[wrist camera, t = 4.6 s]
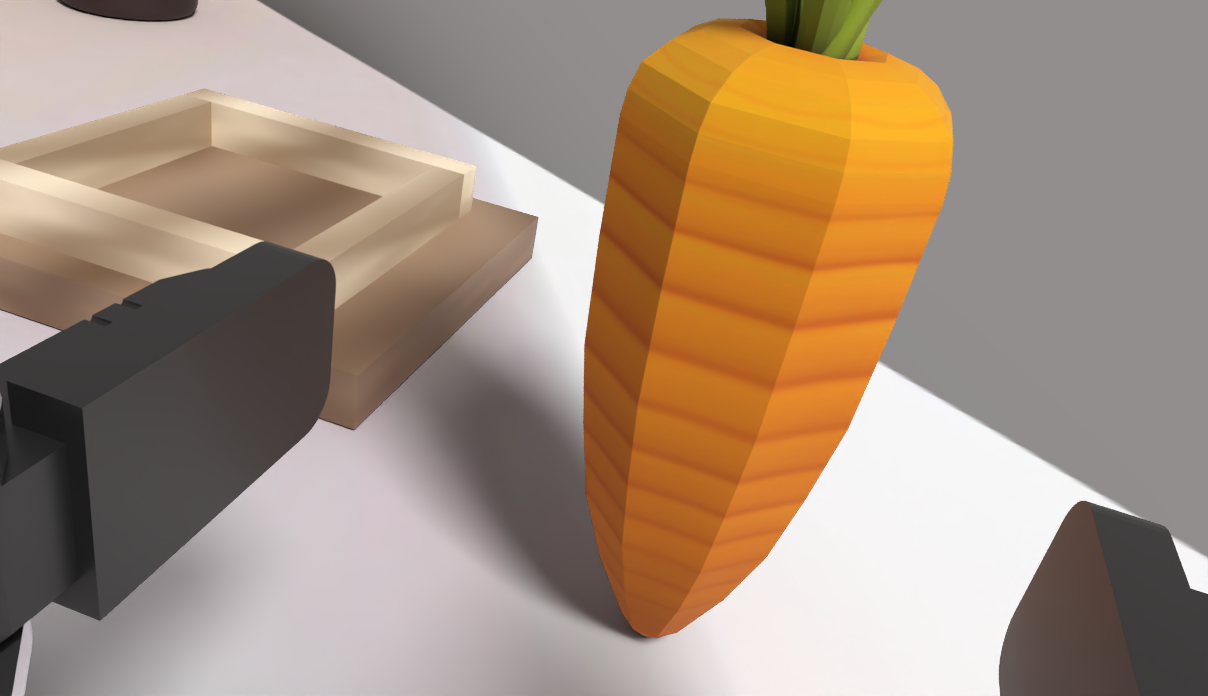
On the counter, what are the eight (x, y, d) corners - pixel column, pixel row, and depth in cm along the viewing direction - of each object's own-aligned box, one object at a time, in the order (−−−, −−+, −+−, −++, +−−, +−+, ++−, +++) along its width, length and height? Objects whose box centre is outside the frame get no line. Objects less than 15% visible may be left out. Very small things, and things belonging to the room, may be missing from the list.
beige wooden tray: (-134, 263, 25) (-155, 152, 24) (174, 151, 36) (172, 69, 34) (354, 429, 23) (362, 317, 21) (531, 258, 33) (545, 174, 32)
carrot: (673, 792, 16) (1036, -282, 9) (465, 618, 18) (617, -331, 11) (818, 644, 20) (1157, -202, 12) (628, 515, 22) (820, -253, 15)
